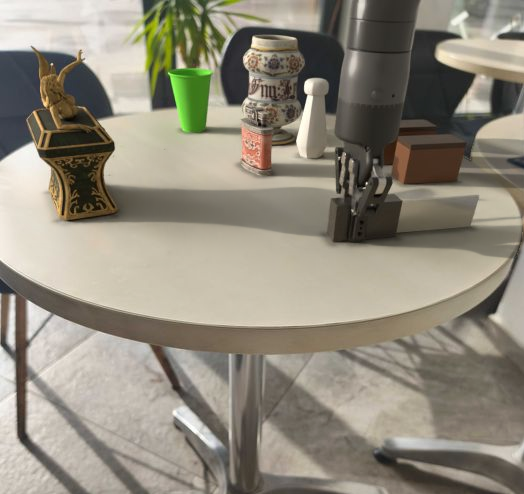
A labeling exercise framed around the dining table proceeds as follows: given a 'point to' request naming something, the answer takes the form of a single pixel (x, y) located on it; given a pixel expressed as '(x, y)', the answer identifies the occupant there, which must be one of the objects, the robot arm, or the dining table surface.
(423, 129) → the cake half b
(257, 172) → the lighter
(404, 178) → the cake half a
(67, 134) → the decorative box
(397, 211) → the knife
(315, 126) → the salt shaker
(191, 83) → the cup
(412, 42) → the robot arm
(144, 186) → the dining table surface
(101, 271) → the dining table surface
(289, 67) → the apothecary jar
